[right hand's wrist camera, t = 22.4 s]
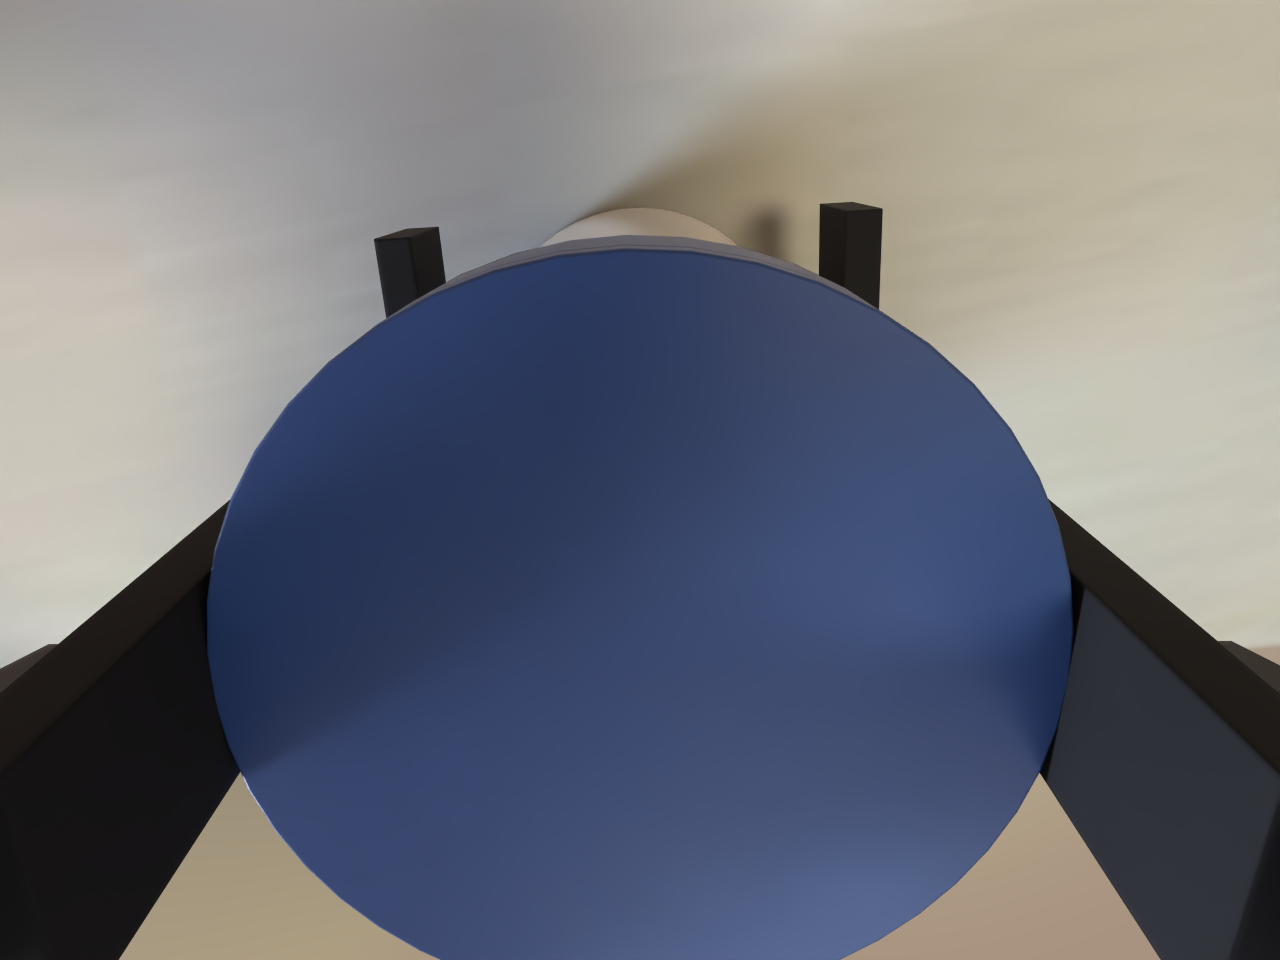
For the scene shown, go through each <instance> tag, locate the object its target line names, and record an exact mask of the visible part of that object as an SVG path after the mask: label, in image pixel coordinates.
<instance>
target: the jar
mask: <svg viewBox="0 0 1280 960" xmlns="http://www.w3.org/2000/svg"><path fill="white" fill-rule="evenodd" d="M619 235H647V236H675V237H688V238H694V239H700V240H705V241H711V242H717V243H723V244H728V245H734V246H738V245H737V244H736V243H734V242H733V241H732V240H731V239H730V238H729V237H727V236H726V235H724V234H723V233H721V232H720V231H718V230H717V229H715V228H714V227H712V226H710V225H708V224H706V223H703V222H701V221H699V220H697V219H695V218H692V217H689V216H686V215H683V214H680V213H677V212H673V211H667V210H661V209H656V208H627V209H616V210H612V211H607V212H603V213H599V214H595V215H593V216H590V217H587V218H585V219H582V220H580V221H577V222H575V223H573V224H572V225H570V226H568V227H566V228H564V229H563V230H561V231H559V232H558V233H557V234H555V235H554V236H553V237H551V238H550V239H549V240H547V241H546V242H545V243H543V244H542V245H541V246H540V247H544V246H548V245H552V244H556V243H561V242H565V241H569V240H579V239H589V238H599V237H609V236H619ZM540 247H539V248H540Z"/></svg>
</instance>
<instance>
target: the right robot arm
mask: <svg viewBox="0 0 1280 960" xmlns="http://www.w3.org/2000/svg"><path fill="white" fill-rule="evenodd" d="M1048 500H1049V499H1048ZM229 503H230V500H229V501H228V502H227V503H226V504H224V505H223V506H222V507H221V508H220V509H218V510H217V511H216V512H215V513H214V514H213V515H211V516H210V517H209V518H208V519H207V520H205V521H204V522H203V523H202V524H201V525H199V526H198V527H197V528H196V529H195V530H193V531H192V532H191V533H190V534H189V535H188V536H186V537H185V538H184V539H183V540H182V541H180V542H179V543H178V544H177V545H176V546H174V547H173V548H172V549H171V550H170V551H169V552H167V553H166V554H165V555H164V556H163V557H161V558H160V559H159V560H158V561H157V562H155V563H154V564H153V565H152V566H151V567H150V568H148V569H147V570H146V571H145V572H144V573H142V574H141V575H140V576H139V577H138V578H136V579H135V580H134V581H133V582H132V583H130V584H129V585H128V586H127V587H126V588H125V589H123V590H122V591H121V592H120V593H119V594H117V595H116V596H115V597H114V598H113V599H111V600H110V601H109V602H108V603H107V604H106V605H104V606H103V607H102V608H101V609H100V610H98V611H97V612H96V613H95V614H94V615H92V616H91V617H90V618H89V619H88V620H87V621H85V622H84V623H83V624H82V625H81V626H79V627H78V628H77V629H76V630H75V631H73V632H72V633H71V634H70V635H69V636H67V637H66V638H65V639H64V640H63V641H62V642H60V643H59V644H48V645H46V646H44V647H42V648H40V649H38V650H36V651H35V652H33V653H31V654H29V655H27V656H25V657H23V658H21V659H19V660H17V661H15V662H13V663H11V664H9V665H7V666H5V667H3V668H1V669H0V960H119V958H120V957H121V955H122V954H123V952H124V951H125V949H126V948H127V946H128V944H129V943H130V941H131V940H132V938H133V937H134V935H135V934H136V932H137V931H138V929H139V927H140V926H141V924H142V923H143V921H144V920H145V918H146V917H147V915H148V914H149V912H150V910H151V909H152V907H153V906H154V904H155V903H156V901H157V900H158V898H159V896H160V895H161V893H162V892H163V890H164V889H165V887H166V886H167V884H168V883H169V881H170V880H171V878H172V876H173V875H174V873H175V872H176V870H177V869H178V867H179V866H180V864H181V863H182V861H183V859H184V858H185V856H186V855H187V853H188V852H189V850H190V849H191V847H192V845H193V844H194V842H195V841H196V839H197V838H198V836H199V835H200V833H201V832H202V830H203V829H204V827H205V825H206V824H207V822H208V821H209V819H210V818H211V816H212V815H213V813H214V812H215V810H216V808H217V807H218V805H219V804H220V802H221V801H222V799H223V798H224V796H225V795H226V793H227V792H228V790H229V788H230V787H231V785H232V784H233V782H234V781H235V779H236V778H237V776H238V775H239V773H240V770H239V768H238V765H237V763H236V761H235V759H234V757H233V755H232V753H231V751H230V748H229V746H228V743H227V740H226V737H225V733H224V730H223V727H222V724H221V720H220V717H219V714H218V709H217V705H216V700H215V695H214V689H213V684H212V679H211V673H210V668H209V663H208V657H207V596H208V589H209V583H210V576H211V569H212V563H213V556H214V550H215V547H216V544H217V540H218V537H219V534H220V531H221V528H222V525H223V521H224V518H225V515H226V512H227V509H228V506H229ZM1049 503H1050V505H1051V508H1052V510H1053V513H1054V515H1055V518H1056V520H1057V523H1058V525H1059V529H1060V533H1061V538H1062V542H1063V547H1064V551H1065V556H1066V560H1067V564H1068V569H1069V573H1070V579H1071V594H1072V609H1073V624H1074V633H1073V645H1072V657H1071V664H1070V669H1069V675H1068V681H1067V686H1066V690H1065V695H1064V700H1063V705H1062V710H1061V715H1060V719H1059V724H1058V728H1057V730H1056V733H1055V735H1054V738H1053V740H1052V743H1051V745H1050V748H1049V750H1048V753H1047V755H1046V758H1045V761H1044V763H1043V766H1042V768H1041V771H1040V774H1041V775H1042V777H1043V778H1044V780H1045V782H1046V783H1047V785H1048V786H1049V788H1050V789H1051V791H1052V792H1053V794H1054V795H1055V797H1056V799H1057V800H1058V802H1059V803H1060V805H1061V806H1062V808H1063V809H1064V811H1065V812H1066V814H1067V816H1068V817H1069V819H1070V820H1071V822H1072V823H1073V825H1074V826H1075V828H1076V829H1077V831H1078V833H1079V834H1080V836H1081V837H1082V839H1083V840H1084V842H1085V843H1086V845H1087V846H1088V848H1089V849H1090V851H1091V853H1092V854H1093V856H1094V857H1095V859H1096V860H1097V862H1098V863H1099V865H1100V867H1101V868H1102V870H1103V871H1104V873H1105V874H1106V876H1107V877H1108V879H1109V880H1110V882H1111V884H1112V885H1113V887H1114V888H1115V890H1116V891H1117V893H1118V894H1119V896H1120V897H1121V899H1122V900H1123V902H1124V904H1125V905H1126V907H1127V908H1128V910H1129V911H1130V913H1131V914H1132V916H1133V917H1134V919H1135V921H1136V922H1137V924H1138V925H1139V927H1140V928H1141V930H1142V931H1143V933H1144V935H1145V936H1146V938H1147V939H1148V941H1149V942H1150V944H1151V945H1152V947H1153V948H1154V950H1155V952H1156V953H1157V955H1158V956H1159V958H1160V959H1161V960H1280V665H1278V664H1276V663H1274V662H1272V661H1270V660H1268V659H1266V658H1264V657H1262V656H1260V655H1258V654H1256V653H1254V652H1252V651H1250V650H1248V649H1246V648H1244V647H1242V646H1240V645H1238V644H1236V643H1234V642H1232V641H1217V640H1215V639H1214V638H1213V637H1212V636H1211V635H1210V634H1208V633H1207V632H1206V631H1205V630H1204V629H1202V628H1201V627H1200V626H1199V625H1198V624H1196V623H1195V622H1194V621H1193V620H1192V619H1190V618H1189V617H1188V616H1187V615H1186V614H1185V613H1183V612H1182V611H1181V610H1180V609H1179V608H1177V607H1176V606H1175V605H1174V604H1173V603H1171V602H1170V601H1169V600H1168V599H1167V598H1166V597H1164V596H1163V595H1162V594H1161V593H1160V592H1158V591H1157V590H1156V589H1155V588H1154V587H1152V586H1151V585H1150V584H1149V583H1148V582H1147V581H1145V580H1144V579H1143V578H1142V577H1141V576H1139V575H1138V574H1137V573H1136V572H1135V571H1133V570H1132V569H1131V568H1130V567H1129V566H1127V565H1126V564H1125V563H1124V562H1123V561H1122V560H1120V559H1119V558H1118V557H1117V556H1116V555H1114V554H1113V553H1112V552H1111V551H1110V550H1108V549H1107V548H1106V547H1105V546H1104V545H1103V544H1101V543H1100V542H1099V541H1098V540H1097V539H1095V538H1094V537H1093V536H1092V535H1091V534H1089V533H1088V532H1087V531H1086V530H1085V529H1084V528H1082V527H1081V526H1080V525H1079V524H1078V523H1076V522H1075V521H1074V520H1073V519H1072V518H1070V517H1069V516H1068V515H1067V514H1066V513H1065V512H1063V511H1062V510H1061V509H1060V508H1059V507H1057V506H1056V505H1055V504H1054V503H1053V502H1051V501H1050V500H1049Z"/></svg>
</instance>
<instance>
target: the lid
mask: <svg viewBox="0 0 1280 960" xmlns="http://www.w3.org/2000/svg"><path fill="white" fill-rule="evenodd" d="M1073 633H1074V624H1073V609H1072V594H1071V579H1070V573H1069V569H1068V564H1067V560H1066V556H1065V551H1064V547H1063V542H1062V538H1061V533H1060V529H1059V525H1058V523H1057V520H1056V518H1055V515H1054V513H1053V510H1052V508H1051V505H1050V503H1049V500H1048V498H1047V495H1046V493H1045V490H1044V488H1043V485H1042V483H1041V480H1040V478H1039V476H1038V474H1037V472H1036V471H1035V469H1034V467H1033V465H1032V464H1031V462H1030V460H1029V459H1028V457H1027V455H1026V454H1025V452H1024V450H1023V449H1022V447H1021V445H1020V443H1019V442H1018V440H1017V438H1016V437H1015V435H1014V433H1013V432H1012V430H1011V428H1010V427H1009V426H1008V425H1007V424H1006V422H1005V421H1004V420H1003V419H1002V417H1001V416H1000V415H999V414H998V413H997V411H996V410H995V409H994V408H993V406H992V405H991V404H990V403H989V402H988V400H987V399H986V398H985V397H984V395H983V394H982V393H981V392H980V391H979V389H978V388H977V387H976V386H975V384H974V383H972V382H971V381H970V380H969V379H968V378H967V377H966V376H965V375H964V374H962V373H961V372H960V371H959V370H958V369H957V368H956V367H955V366H954V365H952V364H951V363H950V362H949V361H948V360H947V359H946V358H945V357H944V356H943V355H941V354H940V353H939V352H938V351H937V350H936V349H935V348H934V347H933V346H931V345H930V344H929V343H928V342H926V341H925V340H923V339H922V338H920V337H919V336H917V335H916V334H914V333H913V332H911V331H910V330H908V329H907V328H905V327H904V326H902V325H901V324H899V323H898V322H896V321H895V320H893V319H892V318H890V317H889V316H887V315H886V314H884V313H883V312H881V311H880V310H878V309H877V308H875V307H874V306H872V305H870V304H869V303H867V302H866V301H864V300H863V299H861V298H860V297H858V296H857V295H855V294H853V293H852V292H850V291H849V290H847V289H846V288H844V287H842V286H840V285H838V284H836V283H834V282H831V281H829V280H827V279H825V278H823V277H821V276H819V275H817V274H815V273H813V272H811V271H809V270H806V269H804V268H802V267H800V266H798V265H796V264H793V263H790V262H787V261H784V260H781V259H778V258H775V257H772V256H768V255H765V254H762V253H759V252H756V251H753V250H750V249H747V248H743V247H740V246H734V245H728V244H723V243H717V242H711V241H705V240H700V239H694V238H688V237H675V236H647V235H619V236H609V237H599V238H589V239H579V240H569V241H565V242H561V243H556V244H552V245H548V246H544V247H540V248H536V249H531V250H527V251H523V252H519V253H515V254H512V255H509V256H507V257H504V258H501V259H499V260H496V261H494V262H491V263H489V264H486V265H484V266H481V267H478V268H476V269H473V270H471V271H468V272H466V273H463V274H461V275H459V276H457V277H455V278H454V279H452V280H450V281H448V282H447V283H445V284H443V285H441V286H439V287H438V288H436V289H434V290H432V291H431V292H429V293H427V294H425V295H423V296H422V297H420V298H418V299H416V300H415V301H413V302H411V303H410V304H408V305H407V306H405V307H404V308H402V309H400V310H399V311H397V312H396V313H394V314H393V315H391V316H390V317H388V318H387V319H385V320H383V321H382V322H380V323H379V324H377V325H376V326H375V327H373V328H372V329H371V330H369V331H368V332H367V333H366V334H364V335H363V336H362V337H360V338H359V339H358V340H356V341H355V342H354V343H353V344H351V345H350V346H349V347H347V348H346V349H345V350H343V351H342V352H341V353H340V354H338V355H337V356H336V357H334V358H333V359H332V360H330V361H329V362H328V363H327V364H326V365H325V366H324V367H323V368H322V369H321V370H320V371H319V372H318V373H317V374H316V376H315V377H314V378H313V379H312V380H311V381H310V382H309V383H308V384H307V385H306V386H305V387H304V388H303V389H302V390H301V391H300V392H299V393H298V394H297V395H296V396H295V397H294V398H293V399H292V400H291V401H290V402H289V403H288V405H287V406H286V407H285V409H284V410H283V412H282V413H281V414H280V416H279V417H278V419H277V420H276V422H275V423H274V424H273V426H272V427H271V429H270V430H269V431H268V433H267V434H266V436H265V437H264V438H263V440H262V441H261V443H260V444H259V445H258V447H257V448H256V450H255V451H254V453H253V455H252V457H251V459H250V461H249V463H248V465H247V467H246V469H245V471H244V473H243V475H242V477H241V479H240V481H239V483H238V485H237V487H236V489H235V491H234V493H233V495H232V497H231V499H230V503H229V506H228V509H227V512H226V515H225V518H224V521H223V525H222V528H221V531H220V534H219V537H218V540H217V544H216V547H215V550H214V556H213V563H212V569H211V576H210V583H209V589H208V596H207V657H208V663H209V668H210V673H211V679H212V684H213V689H214V695H215V700H216V705H217V709H218V714H219V717H220V720H221V724H222V727H223V730H224V733H225V737H226V740H227V743H228V746H229V748H230V751H231V753H232V755H233V757H234V759H235V761H236V763H237V765H238V768H239V770H240V772H241V774H242V776H243V778H244V780H245V782H246V785H247V787H248V789H249V791H250V792H251V794H252V795H253V797H254V798H255V800H256V801H257V803H258V805H259V806H260V808H261V809H262V811H263V812H264V814H265V815H266V817H267V818H268V820H269V822H270V823H271V825H272V826H273V828H274V829H275V831H276V832H277V833H278V834H279V835H280V837H281V838H282V839H283V840H284V841H285V842H286V844H287V845H288V846H289V847H290V848H291V850H292V851H293V852H294V853H295V854H296V855H297V857H298V858H299V859H300V860H301V861H302V863H303V864H304V865H305V866H306V867H307V868H308V869H309V870H310V871H311V872H312V873H313V874H314V875H316V876H317V877H318V878H319V879H320V880H321V881H322V882H323V883H324V884H325V885H326V886H327V887H328V888H330V889H331V890H332V891H333V892H334V893H335V894H336V895H337V896H338V897H339V898H340V899H342V900H343V901H344V902H346V903H347V904H348V905H350V906H351V907H352V908H354V909H355V910H357V911H358V912H359V913H361V914H362V915H363V916H365V917H366V918H367V919H369V920H370V921H372V922H373V923H374V924H376V925H377V926H378V927H380V928H382V929H384V930H385V931H387V932H389V933H390V934H392V935H394V936H396V937H397V938H399V939H401V940H402V941H404V942H406V943H408V944H409V945H411V946H413V947H415V948H416V949H418V950H420V951H422V952H424V953H426V954H429V955H431V956H433V957H435V958H438V959H440V960H840V959H842V958H844V957H846V956H848V955H850V954H852V953H854V952H856V951H858V950H860V949H862V948H864V947H866V946H868V945H870V944H872V943H874V942H876V941H878V940H880V939H881V938H883V937H884V936H886V935H887V934H889V933H891V932H892V931H894V930H895V929H897V928H898V927H900V926H901V925H903V924H905V923H906V922H908V921H909V920H911V919H912V918H914V917H915V916H917V915H918V914H920V913H921V912H922V911H923V910H925V909H926V908H927V907H928V906H929V905H931V904H932V903H933V902H934V901H936V900H937V899H938V898H939V897H940V896H942V895H943V894H944V893H945V892H947V891H948V890H949V889H950V888H951V887H953V886H954V885H955V884H956V883H957V882H958V881H959V880H960V879H961V878H962V877H963V876H964V875H965V874H966V873H967V872H968V871H969V870H970V869H971V868H972V867H973V866H974V865H975V863H976V862H977V861H978V860H979V859H980V858H981V857H982V856H983V855H984V854H985V853H986V852H987V851H988V850H989V849H990V847H991V846H992V845H993V843H994V842H995V841H996V839H997V838H998V837H999V835H1000V834H1001V833H1002V831H1003V830H1004V829H1005V827H1006V826H1007V825H1008V823H1009V822H1010V821H1011V819H1012V818H1013V817H1014V815H1015V814H1016V813H1017V811H1018V809H1019V808H1020V806H1021V804H1022V802H1023V801H1024V799H1025V797H1026V795H1027V793H1028V792H1029V790H1030V788H1031V786H1032V785H1033V783H1034V781H1035V779H1036V778H1037V776H1038V774H1039V772H1040V771H1041V768H1042V766H1043V763H1044V761H1045V758H1046V755H1047V753H1048V750H1049V748H1050V745H1051V743H1052V740H1053V738H1054V735H1055V733H1056V730H1057V728H1058V724H1059V719H1060V715H1061V710H1062V705H1063V700H1064V695H1065V690H1066V686H1067V681H1068V675H1069V669H1070V664H1071V657H1072V645H1073Z"/></svg>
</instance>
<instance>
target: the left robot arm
mask: <svg viewBox="0 0 1280 960" xmlns="http://www.w3.org/2000/svg"><path fill="white" fill-rule="evenodd" d="M882 211H883V209H882V208H877V207H873V206H868V205H864V204H859V203H854V202H845V203H828V204H820V237H819V276H821V277H823V278H825V279H827V280H829V281H831V282H834V283H836V284H838V285H840V286H842V287H844V288H846V289H847V290H849V291H850V292H852V293H853V294H855V295H857V296H858V297H860V298H861V299H863V300H864V301H866V302H867V303H869V304H870V305H872V306H874V307H875V308H877V309H878V310H879V291H880V265H881V238H882ZM374 242H375V249H376V255H377V261H378V268H379V274H380V280H381V287H382V293H383V299H384V306H385V312H386V318H388V317H390V316H391V315H393V314H394V313H396V312H397V311H399V310H400V309H402V308H404V307H405V306H407V305H408V304H410V303H411V302H413V301H415V300H416V299H418V298H420V297H422V296H423V295H425V294H427V293H429V292H431V291H432V290H434V289H436V288H438V287H439V286H441V285H443V284H445V283H446V280H445V272H444V265H443V257H442V250H441V242H440V235H439V227H429V228H412V229H405V230H401V231H398V232H395V233H392V234H389V235H386V236H382V237H379V238H376V239H374Z"/></svg>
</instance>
